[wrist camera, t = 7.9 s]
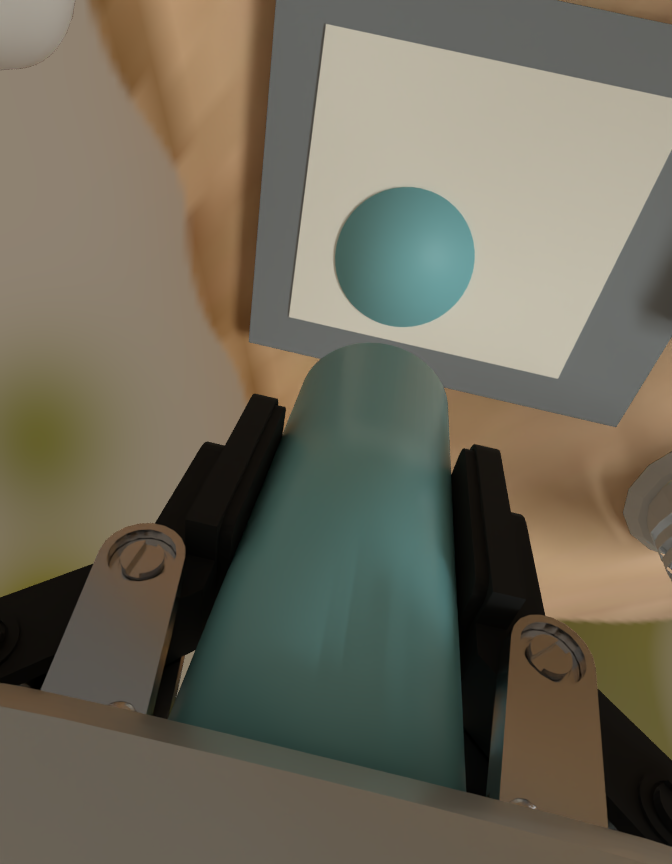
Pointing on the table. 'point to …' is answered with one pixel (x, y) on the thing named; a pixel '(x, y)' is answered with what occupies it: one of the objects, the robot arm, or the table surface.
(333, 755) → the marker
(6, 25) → the milk bottle
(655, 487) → the french press
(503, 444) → the table surface
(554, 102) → the drawing board
